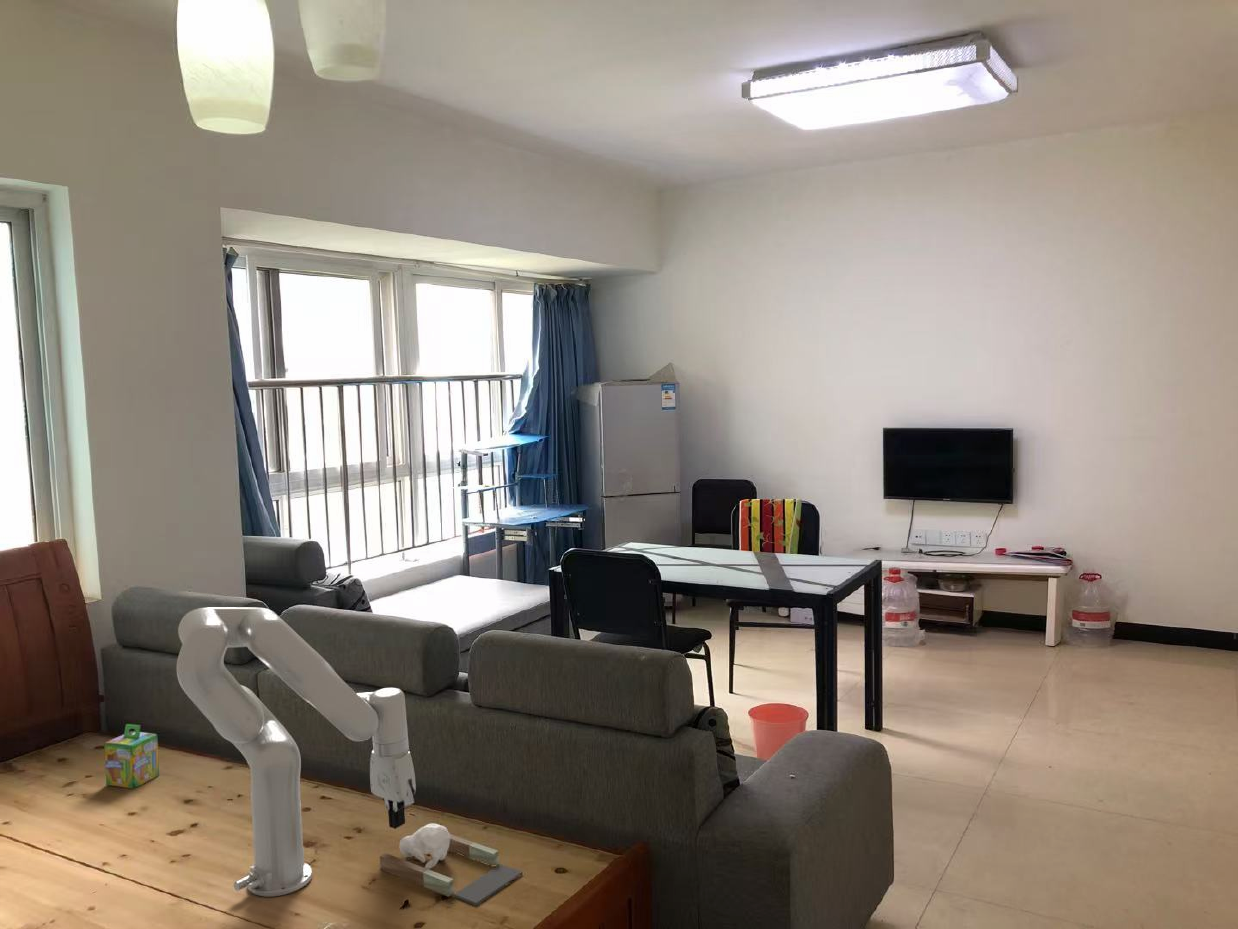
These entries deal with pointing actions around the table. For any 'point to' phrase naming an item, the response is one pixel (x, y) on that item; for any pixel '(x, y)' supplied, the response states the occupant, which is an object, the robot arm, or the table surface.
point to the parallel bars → (432, 878)
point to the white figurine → (427, 844)
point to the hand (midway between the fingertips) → (397, 825)
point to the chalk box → (131, 758)
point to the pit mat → (487, 884)
